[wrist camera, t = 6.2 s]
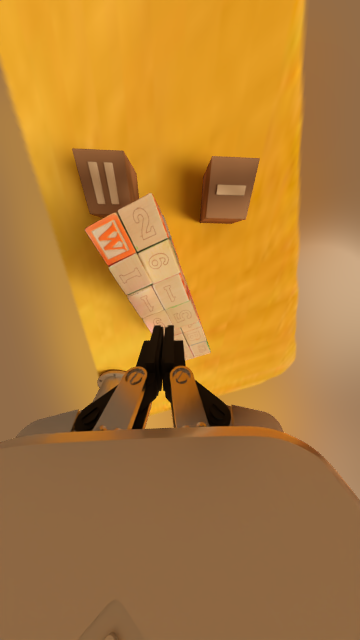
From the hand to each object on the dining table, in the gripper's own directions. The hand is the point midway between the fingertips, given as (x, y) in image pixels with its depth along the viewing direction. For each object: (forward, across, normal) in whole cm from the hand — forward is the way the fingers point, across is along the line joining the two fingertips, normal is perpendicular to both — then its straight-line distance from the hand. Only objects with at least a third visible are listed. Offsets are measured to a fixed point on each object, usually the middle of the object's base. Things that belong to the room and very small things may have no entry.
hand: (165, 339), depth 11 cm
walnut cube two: (+16, +7, -13) cm, 22 cm away
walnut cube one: (+16, -7, -13) cm, 22 cm away
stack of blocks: (+17, 0, 0) cm, 17 cm away
